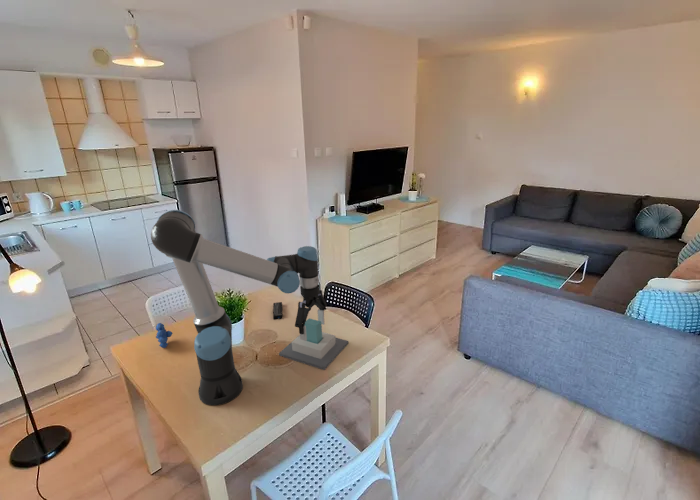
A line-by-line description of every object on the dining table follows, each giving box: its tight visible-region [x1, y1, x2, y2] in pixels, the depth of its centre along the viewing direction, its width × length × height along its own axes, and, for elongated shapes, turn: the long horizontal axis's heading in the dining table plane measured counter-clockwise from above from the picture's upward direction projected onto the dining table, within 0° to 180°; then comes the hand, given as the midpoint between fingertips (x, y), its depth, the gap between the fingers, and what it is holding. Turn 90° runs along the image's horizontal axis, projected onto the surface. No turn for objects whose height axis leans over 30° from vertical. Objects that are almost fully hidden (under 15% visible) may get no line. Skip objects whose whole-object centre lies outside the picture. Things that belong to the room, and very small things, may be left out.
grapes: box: [155, 322, 173, 349], centre depth 160 cm, size 12×7×12 cm, turn 28°
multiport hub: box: [272, 301, 284, 321], centre depth 188 cm, size 4×14×2 cm, turn 11°
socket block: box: [278, 331, 349, 371], centre depth 156 cm, size 20×22×5 cm
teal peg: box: [305, 318, 323, 344], centre depth 154 cm, size 4×6×12 cm, turn 62°
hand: (312, 331), depth 154 cm, fingers open, 13 cm apart
